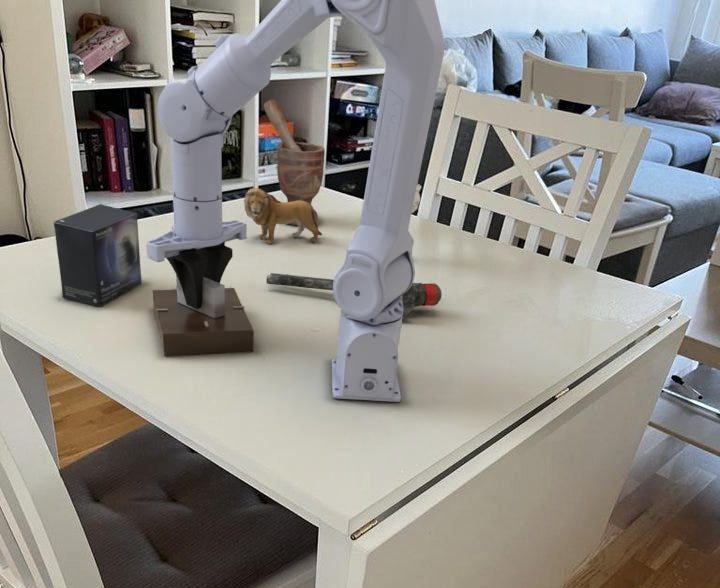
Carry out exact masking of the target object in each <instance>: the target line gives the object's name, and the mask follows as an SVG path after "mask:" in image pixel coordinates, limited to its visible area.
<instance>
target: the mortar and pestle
mask: <svg viewBox="0 0 720 588" xmlns="http://www.w3.org/2000/svg"><path fill="white" fill-rule="evenodd" d="M263 109H264V112H265V114H266V116H267V118H268V120H269V122H270V123H271V125H272V127H273V128H274V130H275V131H276V133H277V135H278V136H279V138H280V140H281V142H280V143H278V144H277V145H276V165H277V166H276V173H277V179H278V184H279V189H280V191H281V192H282V193H283V195H284V196H285V197H286V200H287V201H286V202H293V201H298V200H301V201H306V202H308V203H309V204H310V205H311V206H312V207H313V205H312V202H313V199H314V198H315V197H316V196H317V195H318V194H319V192H320V189H321V186H322V182H323V177H324V167H325V166H324V163H325V153H326V151H325V150H326V149H325V148H324V147H323V146H322V145H318V144H315V143H310V142H300V141H299V142H298V141H297V142H296V141H295V140H294V137H293V135H292V133H291V131H290V128H289V126H288V123H287V120H286V118H285V115H284V113H283V110H282V108H281V106H280V103H279V102H278V101H277V100H276V99H275V98H271V99H269V100H267V101H265V102H264V103H263ZM314 211H315V213H316V217H317V223H318V222H319V216H318V212H317V211H316V209H314ZM311 217H312V213H311ZM312 222H313V224H314V221H313V217H312ZM287 225H292V226H298V224H297V222H296V220H294V221H292V222H291V223H288V224H287Z"/></svg>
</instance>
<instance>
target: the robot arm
mask: <svg viewBox="0 0 720 588" xmlns="http://www.w3.org/2000/svg"><path fill="white" fill-rule="evenodd" d="M336 17H346V18H347V19H348V20H349V21H350V22H352V23H353V24H354V25H355V26H356V27H358V28H359V29H361V30H362V31H363V32H364V33H366V34H367V36H368V37H369V38H370V40H371V42H372V43H373V45H374V46H375V47H376V49H377V50H378V52H379V53H380V55H381V57H382V58H383V59H384V61H385V68H384V73H383V74H384V75H383V79H382V80H383V81H382V86H381V93H380V97H379V105H378V110H377V117H376V124H375V128H374V129H375V130H374V135H373V142H372V147H371V153H370V158H369V159H370V160H369V166H368V170H367V178H366V184H365V190H364V196H363V203H362V208H361V213H360V221H359V225H358V228H357V229H356V231H355V233H354V235H353V237H352V239H351V241H350V243H349V244H348V246H347V249H346V252H345V258H344V262H343V264H342V266H341V267H340V269H339V270H338V271H337V273H336V274H335V276H334V278H333V280H334V282H333V291H332V294H333V298H334V300H335V303H336V305H337V306H338V308H339V309H340V312H339V313H340V314H339V324H338V335H337V336H338V337H337V348H336V349H337V350H336V358H333V359H332V360H331V387H332V391H331V392H332V397H333V398H334V399H339V400H340V399H341V400H342V399H343V400H357V401H373V402H375V401H376V402H391V403H399V402H401V400H402V393H401V390H400V389H401V388H400V385H399V379H398V373H397V368H398V362H399V361H398V359H399V347H400V346H399V345H400V338H401V331H402V323H403V319H402V317H403V302H402V296H403V294H404V293H406V292H407V291H408V290H409V289H410V287H411V286H412V284H413V283H414V281H415V278H416V277H415V276H416V269H415V264H414V259H413V249H414V248H413V247H414V244H415V241H414V238H413V237H412V234H411V233H410V231H409V229H410V222H411V217H412V214H413V213H412V208H413V203H414V198H415V193H416V188H417V184H419V178H420V173H421V169H422V163H423V159H424V154H425V148H426V143H427V139H428V134H429V129H430V124H431V120H432V115H433V109H434V105H435V100H436V95H437V90H438V85H439V80H440V75H441V71H442V67H443V61H444V56H445V38H444V34H443V29H442V26H441V22H440V16H439V13H438V9H437V5H436V1H435V0H280V1H279V2H278V3H277V4H276V6H275V7H273V9H272V10H271V11H270V12H269V13H268V14H267V15H266V16H265V17H264V18H263V20H261V22H260V23H258V25H257V26H256V27H255V28H254V29H253V30H252V31H251V33H250V34H249V35H246V34H242V33H237V32H234V33H232V34H230V35H229V34H224V35H223V34H222V35H220V36H219V37H218V38H217V39H216V40H214V44H213V45H214V46H215V48H216V49H215V50H213V52H212V53H211V54H210V55H208V57H207V58H205V60H204V61H203V62H202V63H201V64H200V65H194V66H191V67H190V68H189V69H188V71H187V75H188V76H187V78H186V82H181V81H175V82H169V83H167V84H166V85H165V87H164V88H163V90H162V92H161V93H160V95H159V98H158V100H157V115H158V116H157V117H158V120H159V123H160V125H161V127H162V129H163V130H164V132H165V134H167V135H168V136H169V145H170V146H169V147H170V167H171V186H172V204H173V205H172V206H173V222H174V223H173V224H172V225H171V230H170V231H168V232H166V233H163V235H161V236H159V237H156V238H155V239H152V240H149V241H146V242H145V248H146V258H147V259H149V260H151V261H153V262H156V263H162V262H165V259H166V260H167V261H168V263H169V264H170V266H171V267H172V269H173V271H174V273H175V276H176V275H177V277H178V279H179V282H180V284H181V287H182V290H183V293H184V297H185V300H186V304H187V305H188V306H190V307H193V308H195V309H200V308H201V306H202V299H203V278H204V277H205V278H208V279H210V280H213V281H215V282H217V283H220V284H221V281H222V277H223V276H224V273H225V271H226V268H227V266H228V265H229V263H230V261H231V260H232V258H233V255H234V254H233V248H231V247H229V246H227V245H226V242H231V241H235V240H239V241H242V240H243V241H244V240H246V239H247V230H248V229H247V226H248V225H247V223H245V222H242V221H240V220H238V219H237V220H236V219H234V220H229V221H223V175H222V174H223V171H222V169H223V168H222V167H223V166H222V161H223V159H222V149H223V148H224V136H225V134H226V132H227V130H228V129H229V128H230V125H231V123H232V118H233V116H235V114H236V113H238V112H239V110H240V109H242V108H243V107H244V106H245V105H246V104H247V103H248V102H249V101H251V100H252V99H253V98H254V97H256V95H258V93H260V92H261V91H262V90H263V89H264V88H266V87H267V86H268V85H269V83H270V81H271V77H272V64H273V63H274V62H276V61H277V60H278V59H280V58H281V57H282V56H283V55H284V54H285V53H287V52H288V51H289V50H290V49H292V48H293V47H294V46H295V45H297V44H298V43H299V42H300V41H301V40H303V39H304V38H305V37H307V36H308V35H309V34H310V33H312V32H313V31H314V30H316V29H317V28H318V27H319V26H320V25H322V23H324V22H325V21H326V20H327V19H328V20H329V18H336ZM411 213H412V214H411Z"/></svg>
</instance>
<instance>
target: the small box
mask: <svg viewBox="0 0 720 588" xmlns="http://www.w3.org/2000/svg"><path fill="white" fill-rule="evenodd" d="M53 228H54V236H55V244H56V253H57V259H58V268H59V275H60V285H61V286H60V287H61V296H62V298H64V299H68V300H73V301H76V302H81V303H84V304H88V305H92V306H97V307H101V306H103V305H105V304H107V303H109V302H110V301H113V300H114V299H116V298H118V297H119V296H121V295H123V294H125V293H127V292H130V290H133V289H134V288H137V287H138V286H140V285H142V269H141V268H142V267H141V256H140V255H141V254H140V239H139V223H138V212H135V211H130V210H125V209H121V208H117V207H113V206H110V205H106V204H101V203H100V204H97V205H94V206H92V207H89V208H87V209H84V210H81V211H79V212H76V213H73V214H70V215H68V216H65V217H63V218H60V219H57V220H54V221H53Z"/></svg>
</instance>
